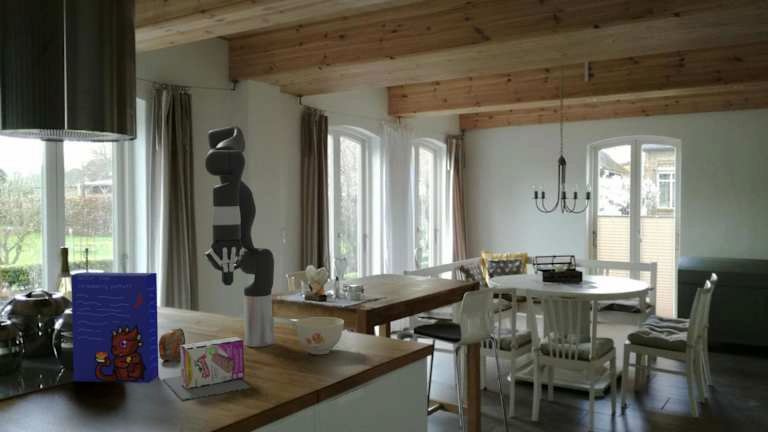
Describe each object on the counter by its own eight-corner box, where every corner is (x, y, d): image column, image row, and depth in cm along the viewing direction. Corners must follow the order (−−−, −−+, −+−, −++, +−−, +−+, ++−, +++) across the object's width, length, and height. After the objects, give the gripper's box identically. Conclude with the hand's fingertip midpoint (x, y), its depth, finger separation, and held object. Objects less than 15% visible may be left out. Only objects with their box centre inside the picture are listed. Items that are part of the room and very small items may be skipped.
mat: (225, 370, 182) (225, 368, 182) (250, 388, 166) (250, 386, 166) (162, 380, 173) (162, 378, 173) (181, 400, 156) (181, 398, 156)
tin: (167, 363, 190) (166, 336, 189) (157, 363, 190) (156, 336, 190) (186, 351, 205) (185, 325, 204) (177, 350, 205) (176, 325, 205)
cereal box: (158, 376, 176) (156, 272, 175) (148, 383, 170) (146, 275, 169) (86, 374, 179) (83, 271, 177) (73, 381, 173) (71, 274, 171)
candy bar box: (245, 378, 172) (186, 390, 163) (238, 374, 176) (180, 386, 167) (244, 338, 172) (184, 348, 162) (237, 335, 176) (179, 344, 166)
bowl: (285, 354, 199) (285, 324, 199) (313, 343, 213) (313, 315, 213) (327, 361, 192) (326, 329, 191) (353, 349, 206) (353, 319, 205)
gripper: (244, 221, 177) (245, 281, 178) (198, 223, 170) (199, 285, 171) (254, 222, 171) (255, 284, 172) (206, 224, 164) (208, 289, 165)
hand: (227, 285), depth 171 cm, fingers closed
